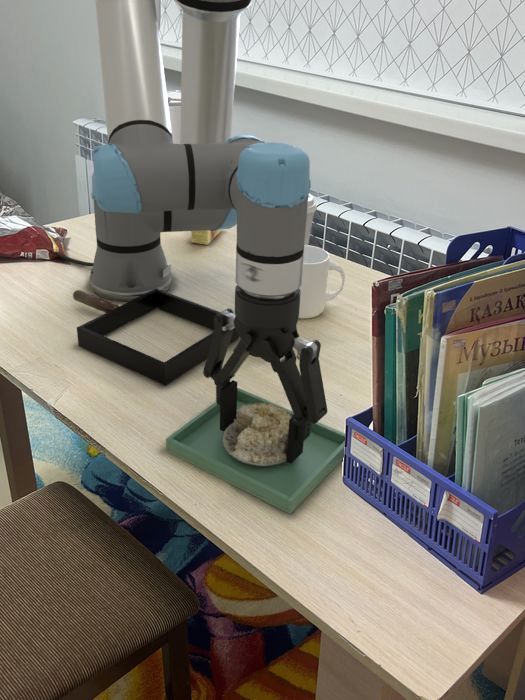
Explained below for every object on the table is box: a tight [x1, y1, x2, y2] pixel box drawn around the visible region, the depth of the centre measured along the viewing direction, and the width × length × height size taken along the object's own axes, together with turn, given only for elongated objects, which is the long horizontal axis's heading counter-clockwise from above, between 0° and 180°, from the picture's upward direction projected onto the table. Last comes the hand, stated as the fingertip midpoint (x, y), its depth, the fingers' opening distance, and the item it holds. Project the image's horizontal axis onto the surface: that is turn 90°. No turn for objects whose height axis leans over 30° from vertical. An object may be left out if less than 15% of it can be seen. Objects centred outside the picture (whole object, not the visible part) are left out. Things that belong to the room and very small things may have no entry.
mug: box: [298, 244, 346, 319], centre depth 124 cm, size 9×12×11 cm
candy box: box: [190, 229, 222, 246], centre depth 150 cm, size 9×4×15 cm, turn 164°
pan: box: [72, 288, 240, 386], centre depth 115 cm, size 29×19×4 cm, turn 56°
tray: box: [165, 387, 346, 515], centre depth 90 cm, size 19×15×2 cm
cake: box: [222, 402, 292, 466], centre depth 89 cm, size 10×10×5 cm
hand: (260, 440), depth 90 cm, fingers closed on cake, 10 cm apart
